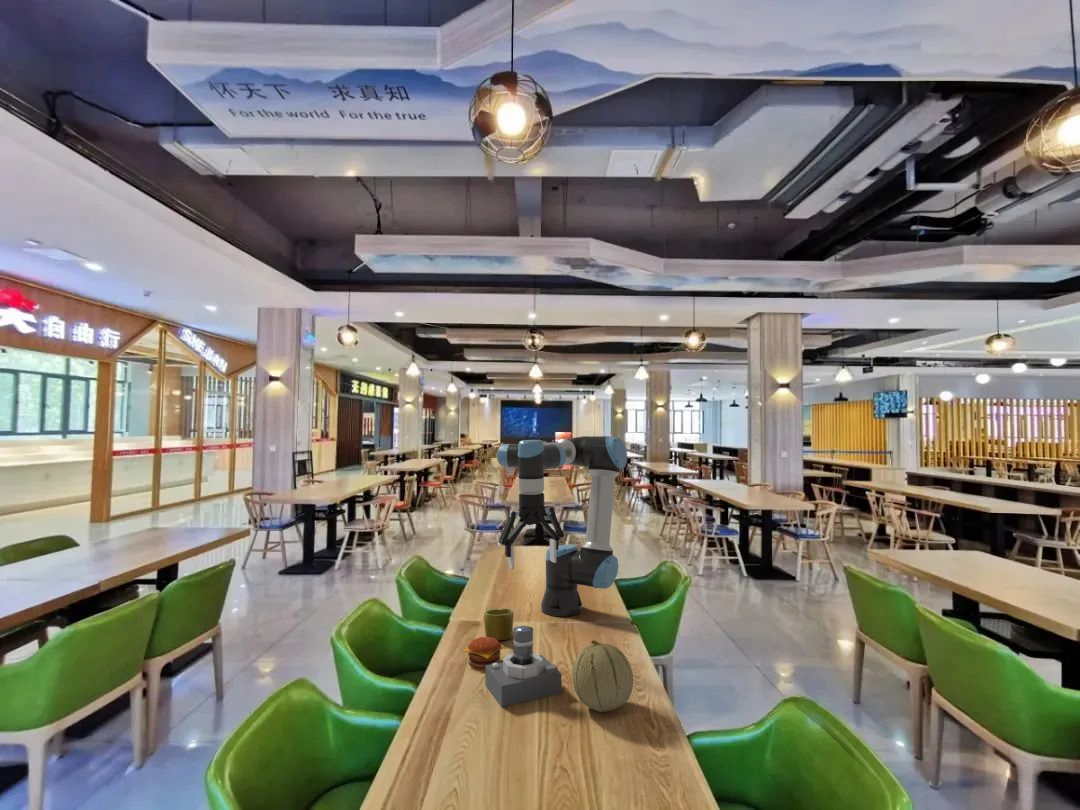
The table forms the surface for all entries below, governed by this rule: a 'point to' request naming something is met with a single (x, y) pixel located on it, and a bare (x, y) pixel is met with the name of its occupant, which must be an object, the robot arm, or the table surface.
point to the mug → (499, 623)
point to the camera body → (522, 680)
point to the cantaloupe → (602, 677)
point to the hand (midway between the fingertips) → (532, 564)
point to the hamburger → (484, 652)
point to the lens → (523, 645)
